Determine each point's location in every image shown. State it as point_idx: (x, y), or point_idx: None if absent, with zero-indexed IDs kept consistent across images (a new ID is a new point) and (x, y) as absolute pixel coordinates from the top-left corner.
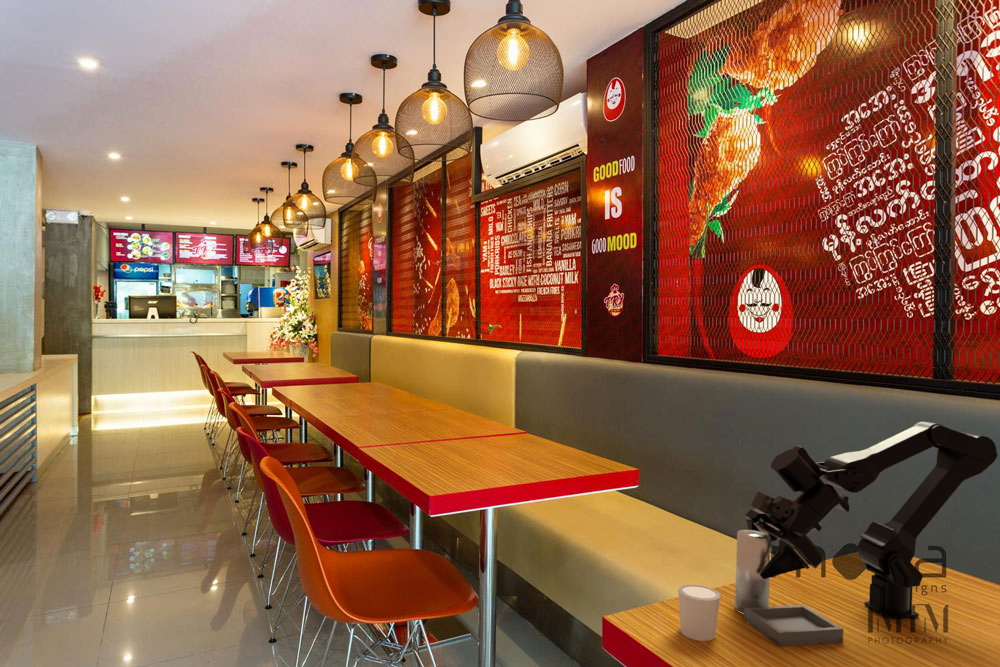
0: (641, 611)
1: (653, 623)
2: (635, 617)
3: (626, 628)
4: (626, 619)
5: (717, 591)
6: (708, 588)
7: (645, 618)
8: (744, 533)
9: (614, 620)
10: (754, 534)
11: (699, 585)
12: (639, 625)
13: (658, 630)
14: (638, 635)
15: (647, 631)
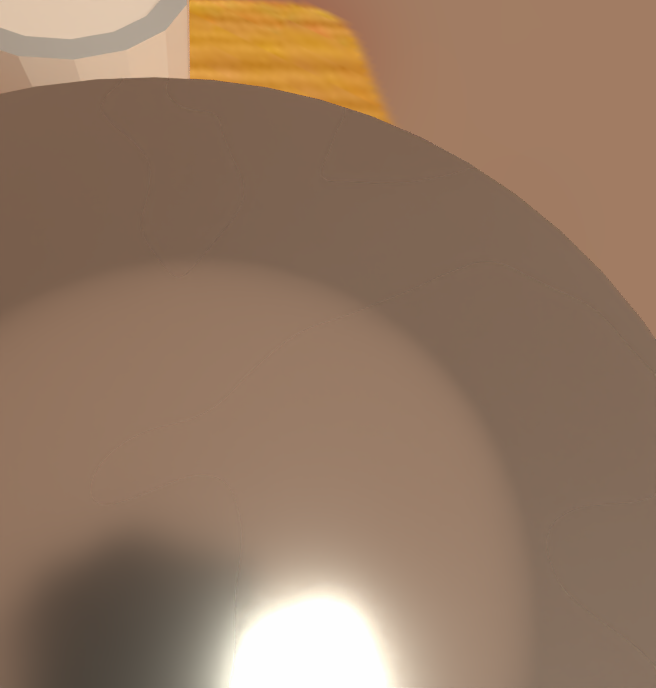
0: (365, 105)
1: (256, 85)
2: (321, 66)
3: (250, 7)
4: (313, 38)
5: (20, 56)
6: (81, 38)
7: (304, 86)
8: (349, 268)
9: (316, 10)
10: (152, 533)
11: (151, 33)
12: (257, 45)
13: (199, 69)
14: (190, 8)
15: (206, 40)
